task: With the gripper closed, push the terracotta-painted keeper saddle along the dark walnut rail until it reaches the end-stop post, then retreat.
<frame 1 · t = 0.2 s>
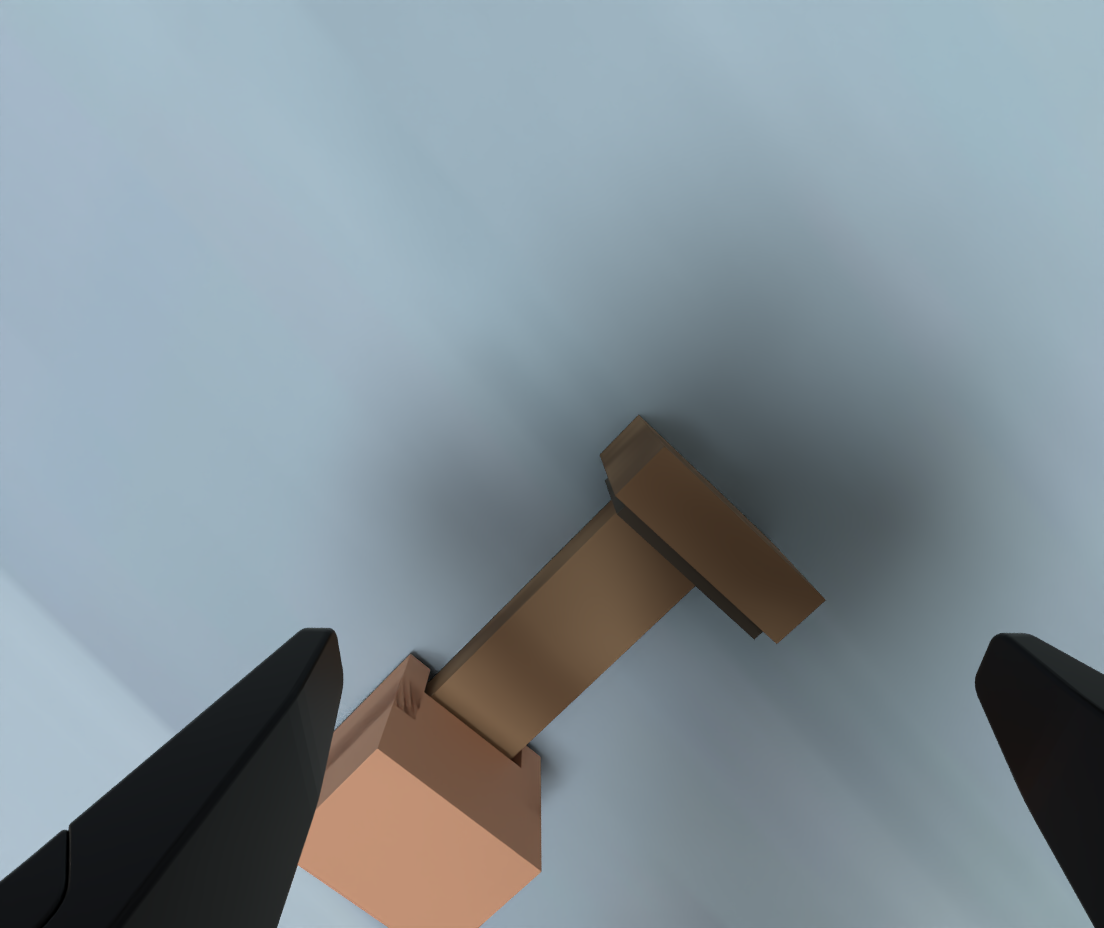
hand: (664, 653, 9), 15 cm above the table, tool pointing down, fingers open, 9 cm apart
keeper: (423, 797, 24), point 3 cm above the table, slide at 0.0 cm
rail: (520, 660, 26), on the table
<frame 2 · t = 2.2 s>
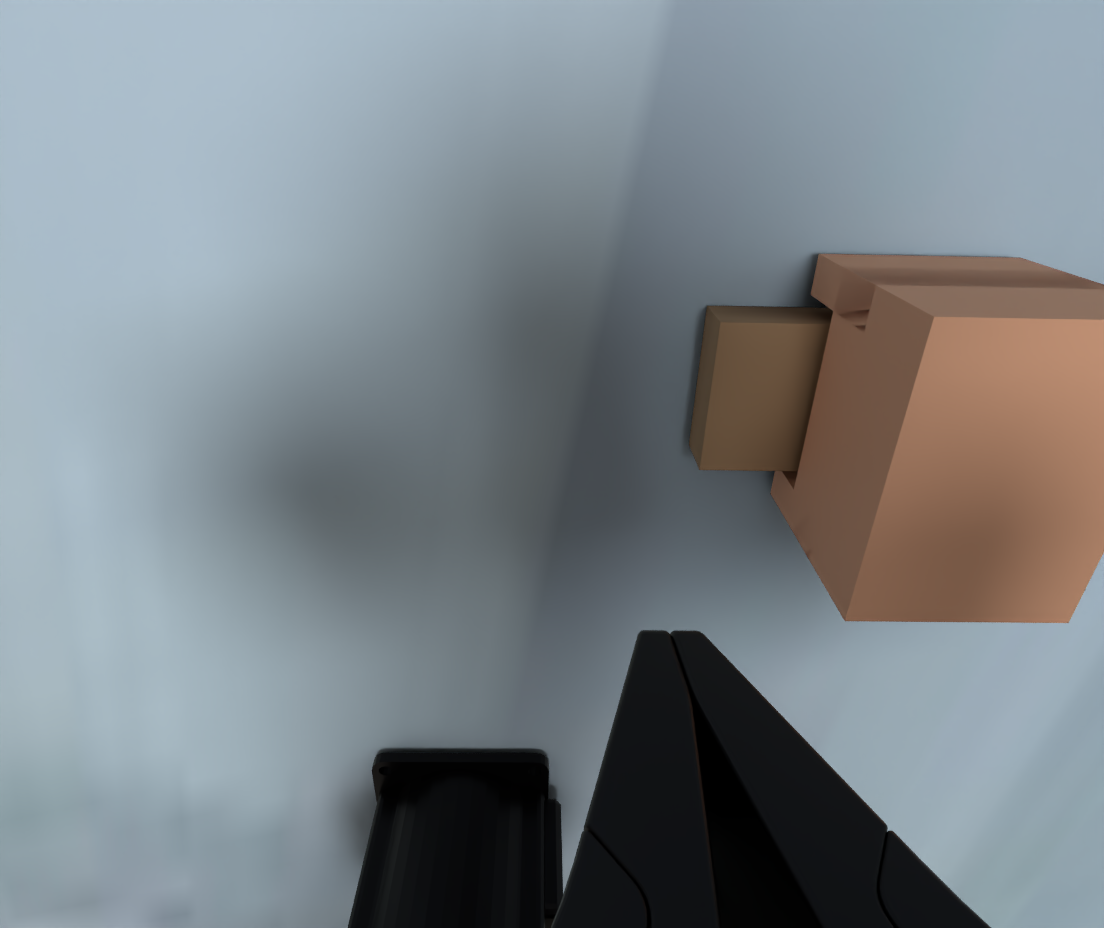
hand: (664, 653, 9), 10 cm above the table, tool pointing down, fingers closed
keeper: (937, 429, 16), point 3 cm above the table, slide at 0.0 cm
rail: (1060, 384, 18), on the table
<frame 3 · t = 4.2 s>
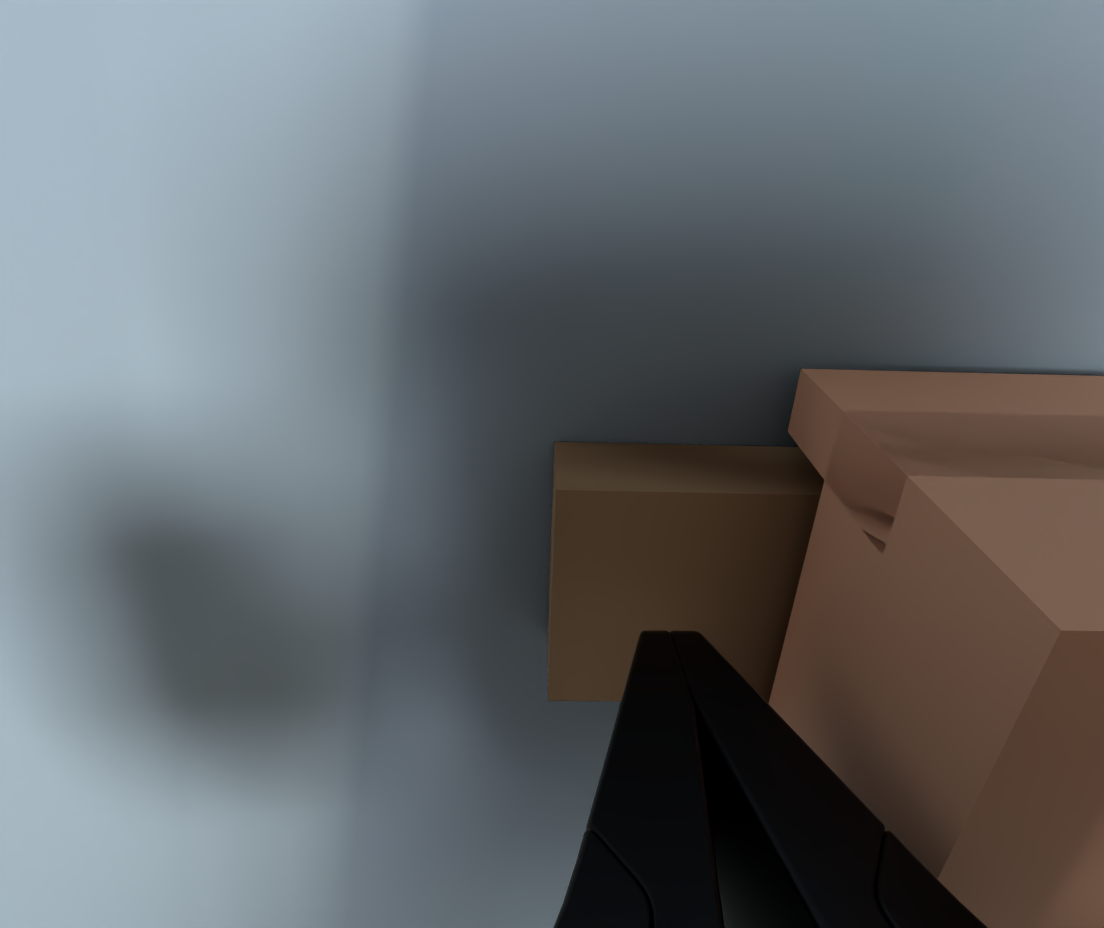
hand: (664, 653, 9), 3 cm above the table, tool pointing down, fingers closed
keeper: (1006, 688, 9), point 3 cm above the table, slide at 1.0 cm, touching gripper
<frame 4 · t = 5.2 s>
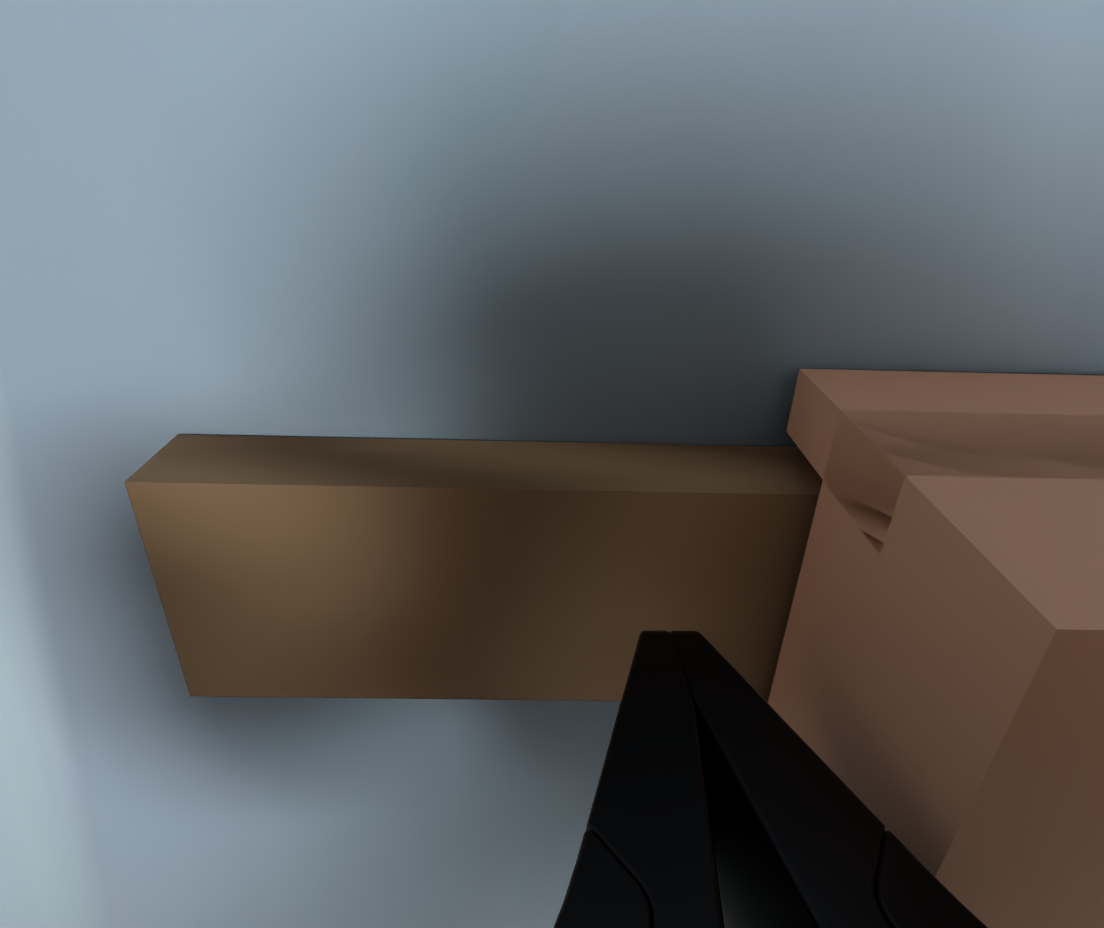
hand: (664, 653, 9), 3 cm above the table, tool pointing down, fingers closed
keeper: (1004, 687, 9), point 3 cm above the table, slide at 6.8 cm, touching gripper
rail: (793, 551, 12), on the table
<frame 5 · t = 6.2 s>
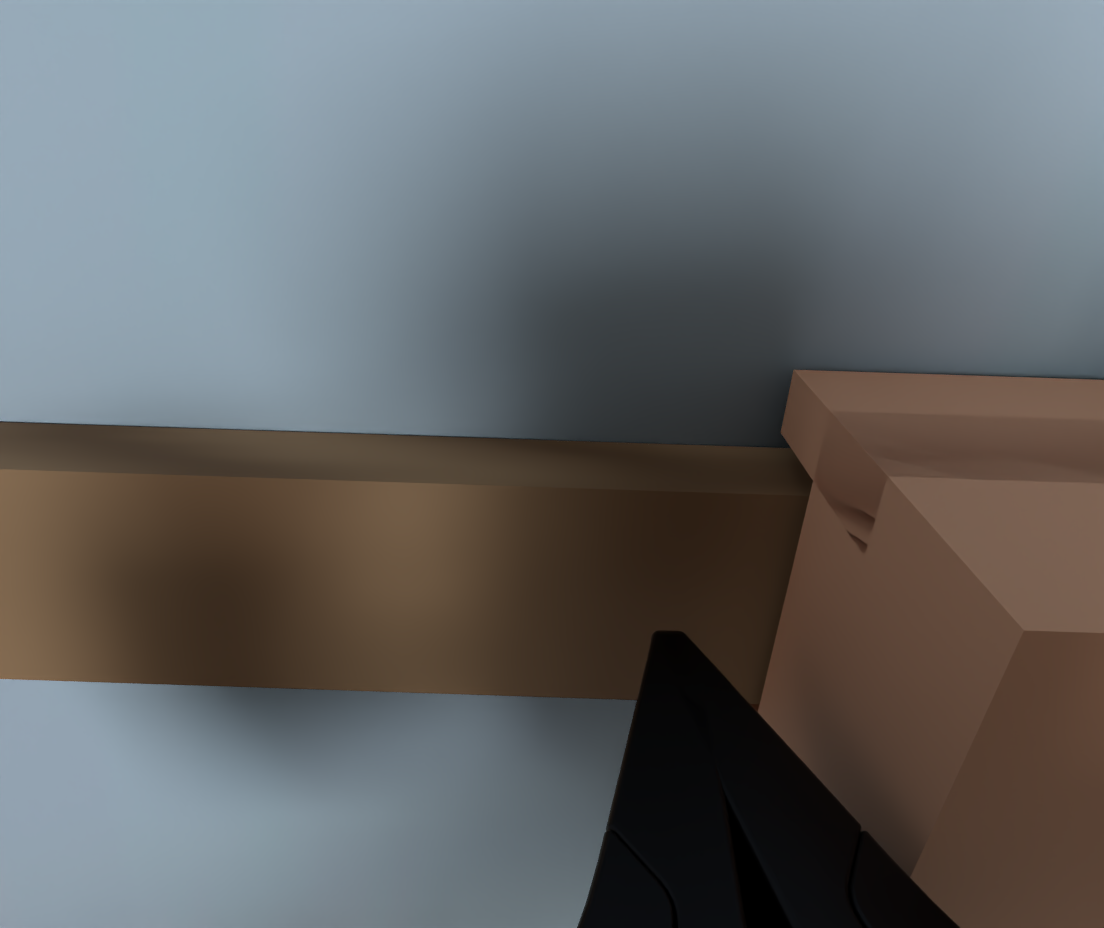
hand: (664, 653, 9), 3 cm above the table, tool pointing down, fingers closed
keeper: (996, 692, 9), point 3 cm above the table, slide at 10.1 cm, touching gripper, rail
rail: (598, 546, 12), on the table
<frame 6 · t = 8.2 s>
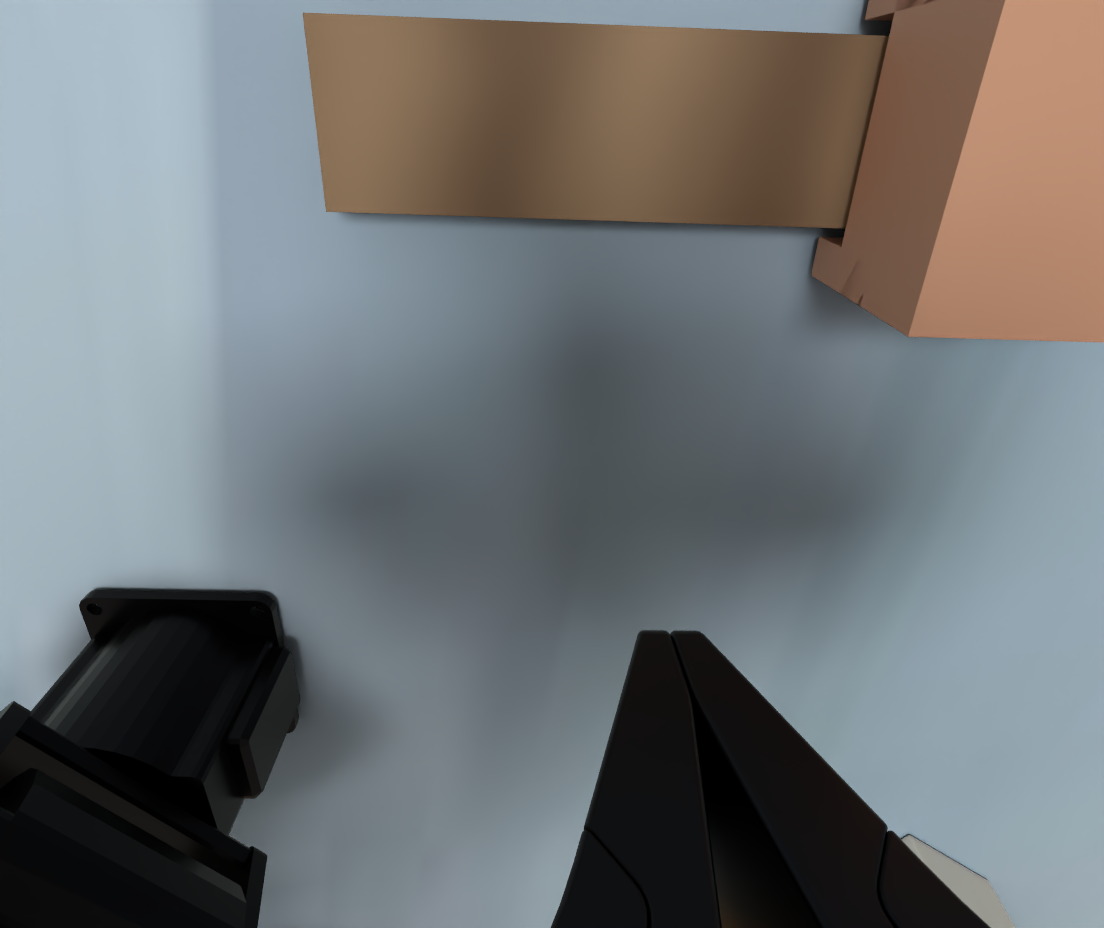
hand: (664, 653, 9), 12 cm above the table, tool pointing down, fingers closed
milk: (896, 882, 32), on the table
keeper: (1007, 144, 14), point 3 cm above the table, slide at 10.0 cm
rail: (736, 131, 17), on the table
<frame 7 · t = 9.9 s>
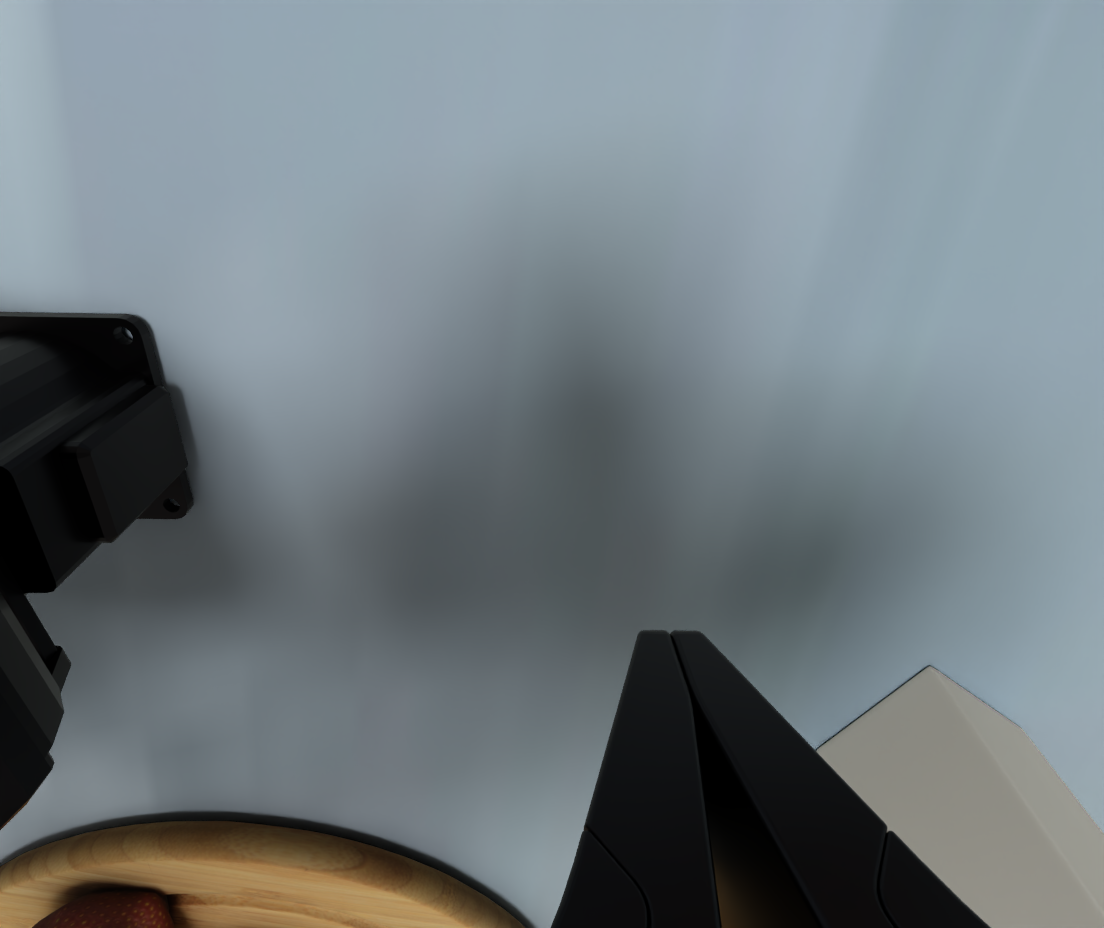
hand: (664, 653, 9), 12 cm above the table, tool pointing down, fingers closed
milk: (914, 734, 28), on the table
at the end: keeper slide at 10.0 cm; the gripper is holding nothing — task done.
